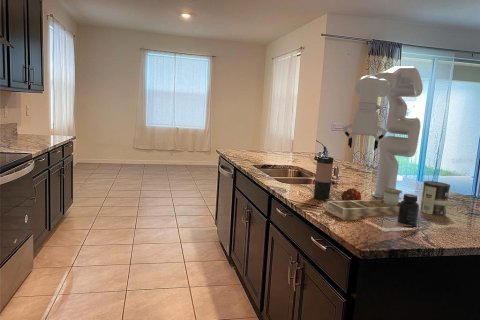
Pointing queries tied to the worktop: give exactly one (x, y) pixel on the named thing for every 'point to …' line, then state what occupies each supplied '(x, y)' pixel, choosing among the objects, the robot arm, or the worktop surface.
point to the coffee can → (434, 198)
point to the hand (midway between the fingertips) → (362, 148)
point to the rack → (360, 209)
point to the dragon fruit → (351, 195)
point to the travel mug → (323, 178)
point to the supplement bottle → (408, 210)
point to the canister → (391, 197)
